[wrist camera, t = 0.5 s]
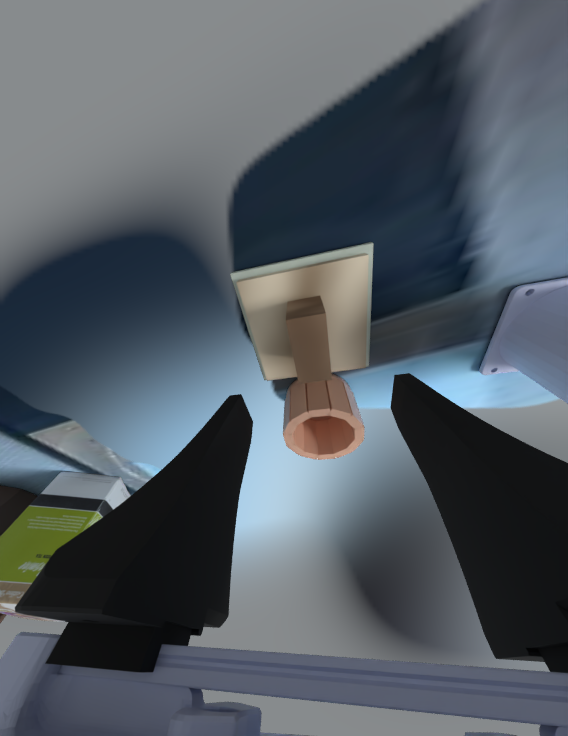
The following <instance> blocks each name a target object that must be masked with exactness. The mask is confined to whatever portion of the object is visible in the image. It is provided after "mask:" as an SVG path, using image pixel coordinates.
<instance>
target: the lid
mask: <svg viewBox="0 0 568 736" xmlns="http://www.w3.org/2000/svg"><path fill="white" fill-rule="evenodd" d="M368 263H369V255H368V254H366V253H364V254H359V255H354V256H349V257H345V258H340V259H335V260H330V261H326V262H321V263H316V264H311V265H307V266H302V267H297V268H292V269H288V270H283V271H278V272H273V273H269V274H264V275H259V276H254V277H250V278H245V279H240V280H238V281H237V282H236V283H237V286H238V290H239V293H240V296H241V299H242V302H243V306H244V309H245V312H246V315H247V318H248V321H249V325H250V328H251V331H252V334H253V337H254V341H255V344H256V347H257V350H258V353H259V356H260V360H261V363H262V366H263V369H264V372H265V376H266V379H267V381H269V380H276V379H284V378H292V377H297V378H298V382H299V384H301V383H309V382H317V381H325V380H332V374H331V372H337V371H345V370H352V369H360V368H366V340H367V301H368Z"/></svg>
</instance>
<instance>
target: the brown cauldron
mask: <svg viewBox="0 0 568 736" xmlns="http://www.w3.org/2000/svg"><path fill="white" fill-rule="evenodd" d="M37 497H38V496H37V495H34V494H32V493H30V492H27V491H25V490H23V489H18V488H12V487H7V486H1V485H0V536H1V535H2V534H3V533H4V532H5V531H6V530H7V529H8V528H9V527H10V526H11V525H12V524H13V522H14V521H15V520H16V519H17V518H18V517H19V516H20V515H21V514H22V513H23V512H24V511H25V510H26V508H27V507H28V506H29V505H30V504H31V503H32V502H33V501H34V500H35V499H36V498H37ZM5 616H6V614H2V613H0V623H1V622H2V620H3V619H4V617H5Z"/></svg>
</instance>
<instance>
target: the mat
mask: <svg viewBox="0 0 568 736" xmlns="http://www.w3.org/2000/svg"><path fill="white" fill-rule="evenodd" d="M364 253H366V254H368V255H369V263H368V301H367V340H366V367H368V366H369V351H370V323H371V295H372V267H373V243H372V242H369V243H365V244H360V245H356V246H351V247H346V248H342V249H337V250H333V251H328V252H323V253H319V254H314V255H310V256H305V257H300V258H296V259H291V260H287V261H282V262H277V263H273V264H268V265H263V266H259V267H254V268H250V269H245V270H240V271H236V272H232V273H231V274H230V275H231V278H232V282H233V285H234V288H235V291H236V294H237V297H238V300H239V303H240V306H241V309H242V313H243V316H244V319H245V322H246V325H247V328H248V331H249V334H250V337H251V340H252V343H253V347H254V350H255V353H256V356H257V359H258V362H259V365H260V368H261V371H262V374H263V377H264V380H267V379H266V376H265V372H264V369H263V366H262V363H261V360H260V356H259V353H258V350H257V347H256V344H255V341H254V337H253V334H252V331H251V328H250V325H249V321H248V318H247V315H246V312H245V309H244V306H243V302H242V299H241V296H240V293H239V290H238V286H237V283H236V282H237V281H238V280H240V279H245V278H250V277H254V276H259V275H264V274H269V273H273V272H278V271H283V270H288V269H292V268H297V267H302V266H307V265H311V264H316V263H321V262H326V261H330V260H335V259H340V258H345V257H349V256H354V255H359V254H364Z"/></svg>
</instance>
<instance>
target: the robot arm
mask: <svg viewBox="0 0 568 736" xmlns="http://www.w3.org/2000/svg"><path fill="white" fill-rule="evenodd" d="M528 290H529V291H528ZM527 291H528V292H527ZM526 292H527V293H526ZM516 371H520V372H522V373H523V374H525V375H526V376H527V377H529V378H530V379H532V380H533V381H535V382H536V383H538V384H539V385H541V386H542V387H544V388H545V389H547V390H548V391H550V392H551V393H553V394H554V395H556V396H557V397H559V398H560V399H562V400H563V401H565V402H566V403H568V277H567V278H561V279H555V280H550V281H544V282H538V283H532V284H526V285H520V286H517V287H516V288H514V289H513V290H512V291H511V293H510V295H509V297H508V300H507V302H506V305H505V307H504V310H503V312H502V315H501V317H500V320H499V322H498V325H497V327H496V329H495V332H494V334H493V337H492V339H491V342H490V344H489V347H488V349H487V352H486V354H485V357H484V359H483V362H482V364H481V367H480V369H479V372H480V373H481V374H483V375H490V374H499V373H507V372H516ZM391 410H392V412H393V415H394V418H395V420H396V423H397V426H398V428H399V430H400V432H401V434H402V436H403V438H404V440H405V441H406V443H407V445H408V447H409V449H410V451H411V453H412V455H413V456H414V458H415V460H416V462H417V464H418V466H419V468H420V469H421V472H422V473H423V475H424V477H425V479H426V481H427V483H428V485H429V488H430V490H431V492H432V495H433V497H434V500H435V502H436V504H437V507H438V509H439V511H440V513H441V516H442V519H443V521H444V524H445V526H446V529H447V531H448V534H449V537H450V539H451V542H452V544H453V547H454V549H455V552H456V555H457V558H458V560H459V563H460V566H461V568H462V571H463V574H464V576H465V579H466V582H467V585H468V588H469V590H470V593H471V596H472V599H473V602H474V605H475V608H476V611H477V613H478V617H479V619H480V623H481V626H482V629H483V632H484V634H485V637H486V639H487V641H488V643H489V645H490V648H491V650H492V652H493V654H494V656H495V658H496V659H510V660H525V661H540V662H545V663H546V665H547V666H548V668H549V670H550V672H543V671H529V670H515V669H501V668H487V667H473V666H459V665H444V664H431V663H417V662H403V661H389V660H375V659H361V658H347V657H333V656H319V655H305V654H291V653H277V652H262V651H248V650H235V649H221V648H206V647H192V646H188V643H189V639H190V636H191V635H197V636H200V635H201V634H202V631H203V627H218V628H219V627H220V626H221V625H222V624H223V623H224V622H225V621H226V619H227V617H228V614H229V596H230V579H231V566H232V555H233V543H234V534H235V525H236V516H237V508H238V500H239V494H240V488H241V484H242V479H243V475H244V470H245V466H246V462H247V457H248V453H249V448H250V444H251V437H252V427H253V421H252V418H251V416H250V414H249V412H248V409H247V407H246V405H245V402H244V400H243V397H242V395H241V394H240V395H231V396H229V397H228V398H227V399H226V401H225V402H224V403H223V404H222V405H221V407H220V408H219V409H218V410H217V411H216V413H215V414H214V415H213V416H212V418H211V419H210V420H209V421H208V422H207V423H206V425H205V426H204V427H203V428H202V429H201V430H200V431H199V433H198V434H197V435H196V436H195V437H194V438H193V439H192V440H191V441H190V442H189V443H188V445H187V446H186V447H185V448H184V449H183V450H182V451H181V452H180V453H179V454H178V455H177V456H176V457H175V458H174V459H173V460H172V461H171V462H170V463H169V464H167V465H166V466H165V467H164V468H163V469H162V470H161V471H160V472H159V473H158V474H156V475H155V476H154V477H153V478H152V479H151V480H149V481H148V482H147V483H146V484H145V485H144V486H142V487H141V488H140V489H139V490H138V491H136V492H135V493H134V494H133V495H131V496H130V497H129V498H128V499H126V500H125V501H124V502H123V503H121V504H120V505H119V506H117V507H116V508H115V509H113V510H112V511H111V512H109V513H108V514H107V515H105V516H104V517H103V518H101V519H100V520H98V521H97V522H96V523H94V524H93V525H91V526H90V527H88V528H87V529H86V530H84V531H83V532H81V533H80V534H78V535H77V536H75V537H74V538H73V539H71V540H70V541H68V542H67V543H65V544H64V545H62V546H61V547H59V548H58V549H57V550H56V551H55V552H54V553H53V555H52V556H51V557H50V559H49V560H48V562H47V563H46V564H45V566H44V567H43V569H42V570H41V571H40V573H39V574H38V576H37V577H36V578H35V580H34V581H33V583H32V584H31V585H30V587H29V588H28V590H27V591H26V592H25V594H24V595H23V597H22V598H21V599H20V601H19V602H18V604H17V605H16V606H15V612H17V613H20V614H24V615H30V616H35V617H41V618H47V619H53V620H59V621H65V622H68V624H67V626H66V628H65V629H64V631H63V633H62V635H56V634H44V633H29V632H21V633H19V634H17V635H16V637H15V638H14V640H13V641H12V643H11V644H10V645H9V647H8V648H7V650H6V652H5V653H4V654H3V656H2V657H1V659H0V736H308V735H292V734H276V733H261V732H260V726H261V710H260V708H258V707H254V706H250V705H246V704H242V703H236V702H217V703H206V704H205V703H204V700H203V693H202V691H201V689H205V690H215V691H224V692H234V693H243V694H254V695H263V696H272V697H282V698H292V699H302V700H311V701H320V702H330V703H339V704H349V705H359V706H368V707H377V708H388V709H396V710H407V711H415V712H425V713H435V714H444V715H455V716H463V717H474V718H482V719H492V720H502V721H511V722H521V723H530V724H540V729H539V732H540V736H568V463H566V462H564V461H562V460H560V459H557V458H555V457H553V456H551V455H549V454H546V453H545V452H542V451H540V450H538V449H536V448H534V447H532V446H530V445H528V444H526V443H524V442H522V441H520V440H518V439H516V438H514V437H512V436H510V435H509V434H507V433H505V432H503V431H501V430H499V429H497V428H495V427H493V426H492V425H490V424H488V423H486V422H485V421H483V420H481V419H479V418H478V417H476V416H474V415H473V414H471V413H469V412H468V411H466V410H464V409H463V408H461V407H459V406H458V405H456V404H455V403H453V402H452V401H450V400H448V399H447V398H445V397H444V396H442V395H441V394H439V393H438V392H436V391H435V390H433V389H432V388H430V387H429V386H427V385H426V384H425V383H423V382H422V381H420V380H419V379H417V378H416V377H414V376H413V375H411V374H410V373H408V374H400V375H395V376H394V384H393V393H392V401H391ZM465 736H516V735H510V734H504V733H491V732H489V733H488V732H483V733H482V732H465Z"/></svg>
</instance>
